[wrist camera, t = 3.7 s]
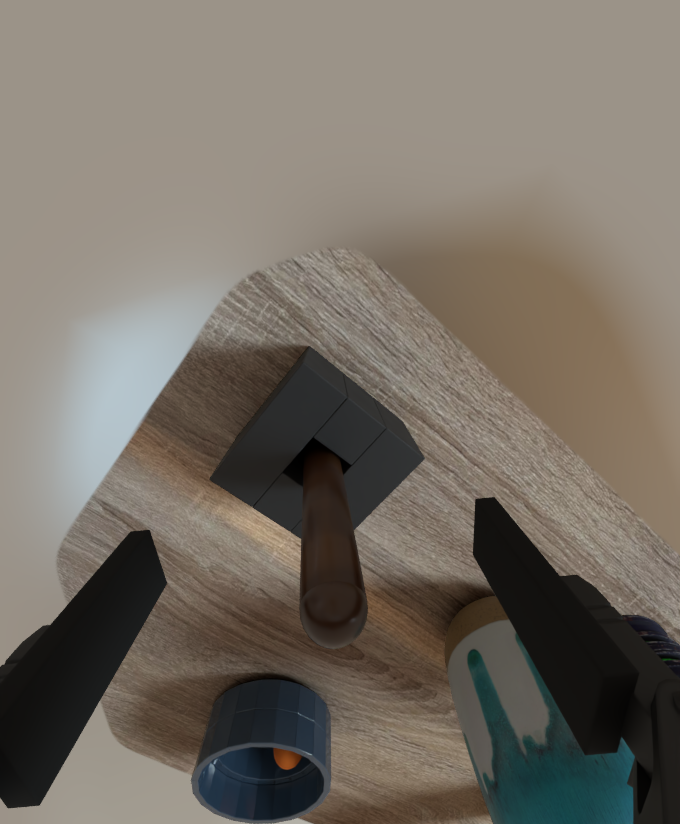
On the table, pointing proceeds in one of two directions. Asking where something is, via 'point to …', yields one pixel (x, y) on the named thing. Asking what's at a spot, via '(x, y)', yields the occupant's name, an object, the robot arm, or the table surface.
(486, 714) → the vase
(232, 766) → the mixing bowl
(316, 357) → the spoon stand
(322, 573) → the stirring stick
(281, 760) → the ball
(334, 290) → the table surface
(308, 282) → the table surface
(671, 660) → the dark blue barrel
